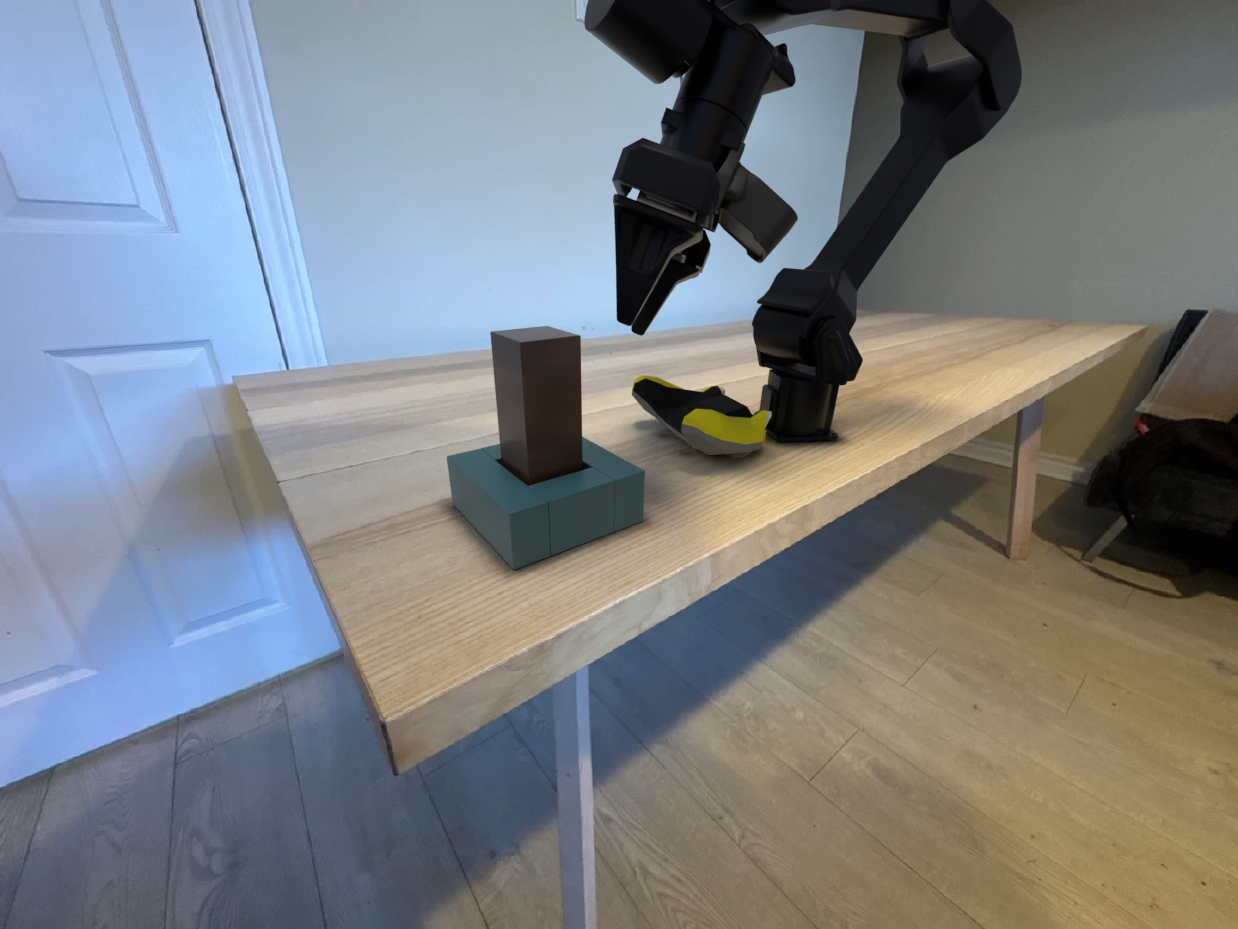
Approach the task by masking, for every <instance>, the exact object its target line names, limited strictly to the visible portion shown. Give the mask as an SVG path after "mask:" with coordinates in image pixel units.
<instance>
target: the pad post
mask: <svg viewBox="0 0 1238 929" xmlns="http://www.w3.org/2000/svg"><path fill="white" fill-rule="evenodd" d="M489 335H490V344H491V346H490V347H491V355H492V357H491V358H492V368H493V380H494V391H495V401H496V402H495V403H496V414H497V424H498V425H497V426H498V436H499V437H498V438H499V444H500V450H501V462H502V466H503V467H504V468H506V469H507V470H508V471H509V472H511V473H512V474H513V475H515V476H516V477H517V478H518V479H520V480H521V481H522V482H523V483H525V484H526V485H527V486H529V485H533V484H536V483H540V482H543V481H547V480H550V479H554V478H557V477H561V476H564V475H568V474H571V473H575V472H578V471H581V470H583V459H582V437H583V406H582V405H583V402H582V401H583V400H582V399H583V398H582V395H583V394H582V337H581V336H582V335H579V334H577V333H573V332H570V331H567V330H566V331H565V330H563V329H559V328H555V327H552V326H549V325H543V326H541V325H540V326H532V327H522V328H513V329H512V328H511V329H502V330H492V331H490V334H489Z"/></svg>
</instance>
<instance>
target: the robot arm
mask: <svg viewBox="0 0 1238 929" xmlns="http://www.w3.org/2000/svg"><path fill="white" fill-rule="evenodd" d="M583 24H584V25H583V26H584V29H585V30H586V31H587V32H589V33H590V34H591V35H592V36H593V37H595V39H597V40H599V41H600V42H601V43H602V44H604V46H606V47H607V48H609V49H610V50H611V51H612V52H614V53H615V54H616V55H617V56H618V57H620V58H621V59H623V61H625V62H626V63H627V64H628V65H630V66H631V67H632V68H634V69H635V70H636V71H637V72H639V73H640V74H641V75H642V76H644V78H646V79H648V80H649V81H650V82H651V83H652V84H654V85H661V84H663V83H665V82H666V81H667V80H669V79H670V78H674V79H679V78H681V77H683V78H682V81H681V84H680V87H679V90H678V92H677V94H676V98H675V100H674V104H673V106H672V108H669V107H665V110H664V112H663V116H662V118H661V121H660V129H661V139H660V142H656V141H654V140H650V139H649V138H645V137H641V138H638V140H635V141H634V142H632V143H630V144H628V145H626V146H624V147H623V148H622V150H621V153H620V156H619V159H618V161H617V164H616V167H615V170H614V173H613V175H612V179H611V182H612V185H613V187H614V189H615V191H616V193H614V194H613V196H612V204H613V217H614V218H613V219H614V249H615V250H614V251H615V252H614V253H615V295H616V296H615V297H616V299H615V300H616V306H615V307H616V308H615V309H616V321H617V322H618V323H620V324H622V325H624V326H627V327H631V328H630V329H631V330H630V331H631V332H632V333H633V334H635V335H638V336H640V337H642V336H644V335H645V334H646V332H647V331H648V329H649V327H650V326H651V325H652V323H653V321H654V320H655V318H656V317H657V315H658V314H659V312H660V310H662V308H663V306H664V305H665V303H666V302H667V300H668V298H669V297H670V296H671V294H672V293H673V291H674V290H675V288H676V287H677V286H678V285H679V284H682V283H684V282H687V281H689V280H691V279H696V278H697V277H699V276H700V274H702V273H703V271H704V269H705V266H706V264H707V261H708V258H709V255H710V253H711V246H712V244H711V241H710V239H709V236H708V234H707V231H708V232H712V233H716V230H717V228H718V225H719V226H720V227H721V228H722V229H723V231H725V232H726V233H727V234H728V235H729V236H730V237H731V238H732V239H733V240H734V241H736V242H737V243H738V244H739V245H740V246H741V247H742V248H743V249H744V250H745V251H746V255H747V256H748V257H749V258H750V259H752V261H754V262H755V263H758V264H763V262H764V261H765V260H766V259H767V257H769V255H770V254H771V253H772V252H773V251H774V250H775V249H776V248H777V246H778V245H779V244H780V243H781V242H782V241H783V239H784V238H785V237H786V236H787V235H788V234H789V233H790V232H791V230H792V229H793V228H794V226H795V224H796V223H797V222H798V220H799V217H798V214H797V212H796V210H795V209H794V208H793V207H792V206H791V205H790V204H789V203H787V201H785V199H784V198H782V197H781V196H780V195H779V194H778V193H777V192H776V191H774V189H772V188H771V187H770V186H769V185H768V184H766V182H765V181H764V180H763V179H762V178H761V177H759V176H758V175H757V174H755V173H753V172H751V170H749V169H747V168H746V167H745V166H744V165H743V164H742V162H741V159H742V157H743V154H744V152H745V148H746V143H745V140H746V138H747V135H748V133H749V130H750V128H751V125H752V122H753V121H754V118H755V115H756V113H757V110H758V107H759V105H760V102H761V100H762V98H763V96H766V95H769V94H772V93H776V92H779V91H783V90H786V89H790V88H793V87H794V86H795V84H796V82H797V79H796V73H795V69H794V65H793V64H792V62H791V61H790V58H789V54H788V45H787V43H784V42H782V43H780V44H778V45H774V44H772V42H770V41H769V40H768V39H767V37H766V36H767V35H772V34H773V35H774V34H777V33H780V32H783V31H787V30H792V29H795V28H800V27H804V26H810V25H814V26H815V25H816V26H823V27H831V28H840V29H847V30H856V31H863V32H871V33H879V34H887V35H896V36H897V37H898V41H899V43H900V46H901V54H900V56H901V57H900V60H899V65H898V72H897V76H896V85H897V88H898V91H899V94H900V96H901V99H902V102H903V103H902V105H901V107H900V110H898V111H899V112H898V138H897V139H896V141H895V143H894V144H893V146H892V147H891V149H890V150H889V151H888V152H887V154H886V156H885V157H884V159H883V160H882V161H881V163H880V164H879V166H878V167H877V168H876V170H875V171H874V173H873V175H871V177H870V179H869V180H868V182H867V183H866V184H865V186H864V187H863V189H862V190H861V192H860V193H859V194H858V196H857V197H856V199H855V201H854V202H853V203H852V205H851V207H850V208H849V209H848V211H847V212H846V213H845V215H844V216H843V218H842V219H841V221H840V222H839V224H838V225H837V227H836V228H835V229H834V231H833V232H832V234H831V235H830V237H829V238H828V240H827V241H826V243H825V244H824V245H823V247H822V248H821V250H820V251H819V253H818V254H817V255H816V257H815V259H814V260H813V261H812V262H811V263H810V264H809V265H808V266H806V267H804V268H803V269H802V268H793V267H783V268H781V270H780V271H779V272H778V273H777V274H776V275H775V277H774V278H773V281H772V283H771V285H770V286H769V288H768V290H766V292H765V293H764V295H762V296H761V297H760V298H758V299H757V301H756V303H757V305H759V307H758V308H757V310H756V311H755V314H754V316H753V318H752V322H751V327H753V328H752V338H753V342H754V345H755V350H756V356H757V361H758V366H759V367H761V368H767V369H769V371H768V377H767V383H766V384H765V383H764V384H763V385H762V388H761V395H760V402H759V404H760V405H759V408H758V409H759V410H758V411H760V410H766V411H771V413H772V416H771V418H770V420H769V422H768V423H767V425H766V427H765V430H766V433H768V434H769V435H770V436H771V437H772V438H773V439H774V440H776V441H777V442H782V443H783V442H810V441H811V442H812V441H814V442H815V441H837V440H838V439H839V434H838V433H837V432H836V431H834V430H833V429H832V425H833V420H834V416H835V410H836V406H837V400H838V396H839V395H838V394H839V391H840V386H846V385H847V383H848V382H854V381H855V380H856V378H857V376H858V374H859V371H860V368H861V367H862V365H863V362H864V359H863V356H862V355H861V353H860V351H859V349H858V347H857V345H856V343H855V342H854V340H853V337H852V336H851V334H850V333H851V331H852V329H853V327H854V325H855V323H856V322H857V311H858V309H857V308H858V307H857V306H858V291H859V289H860V288H861V286H862V285H863V283H864V281H865V280H866V279H867V278H868V276H869V275H870V273H871V272H872V270H873V269H874V268H875V266H876V265H877V263H878V262H879V260H880V259H881V257H882V256H883V254H884V253H885V251H886V250H887V249H888V247H889V246H890V244H891V243H892V241H893V240H894V239H895V237H896V236H897V234H898V233H899V231H900V230H901V229H902V227H903V225H904V224H905V223H906V221H907V220H908V219H909V217H910V215H911V214H912V213H913V211H914V210H915V208H916V207H917V206H918V204H919V203H920V201H921V200H922V198H923V197H924V195H925V194H926V192H927V191H928V190H929V189H930V187H931V185H932V184H933V182H934V181H935V180H936V178H937V177H938V176H939V174H940V172H941V171H942V170H943V168H944V167H945V165H947V163H948V162H949V161H951V160H952V159H954V158H956V157H957V156H959V155H960V154H962V153H964V152H965V151H967V150H969V149H970V148H972V147H973V146H974V145H977V144H978V143H979V142H981V141H982V140H983V139H985V138H986V137H987V135H988V134H989V133H990V132H991V131H992V130H993V128H994V127H995V126H997V124H998V123H999V122H1000V121H1001V120H1002V119H1003V117H1004V116H1005V115H1006V114H1007V112H1008V111H1009V110H1010V108H1011V106H1012V104H1013V103H1014V101H1015V100H1016V98H1017V96H1018V94H1019V91H1020V88H1021V85H1022V79H1023V68H1022V62H1021V58H1020V54H1019V49H1018V43H1017V38H1016V34H1015V29H1014V26H1013V24H1012V22H1010V20H1008V18H1007V17H1005V16H1004V15H1003V14H1002V13H1001V12H1000V11H999V10H998V9H997V8H996V7H995V6H993V4H992V3H990V1H989V0H587V3H586V7H585V12H584V23H583ZM947 30H949V32H950V35H951V37H952V38H953V39H954V40H955V42H957V43H958V44H959V45H961V46H962V47H963V49H964V50H966V51H967V52H968V53H969V54H967V55H964V56H960V57H956V58H952V59H948V60H943V61H940V62H936V63H933V64H930V65H929V63H928V59H927V56H926V54H925V50H926V44H927V40H928V36H931V35H933V34H936V33H940V32H943V31H947ZM633 189H634V190H637V191H638V194H637V196H636V199H633V198H631V197H628V195H629V194H630V193H631V192H632V190H633Z"/></svg>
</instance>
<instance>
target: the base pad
mask: <svg viewBox="0 0 1238 929" xmlns="http://www.w3.org/2000/svg"><path fill="white" fill-rule="evenodd" d="M582 459H583V470H581V471H578V472H575V473H571V474H568V475H564V476H561V477H557V478H554V479H550V480H547V481H543V482H540V483H536V484H533V485H529V486H527V485H526V484H525V483H523V482H522V481H521V480H520V479H518V478H517V477H516V476H515V475H513V474H512V473H511V472H509V471H508V470H507V469H506V468H504V467H503V466H502V462H501V450H500V443H497V444H493V445H489V446H484V447H480V448H477V449H472V450H467V451H463V452H460V453H454V454H451V455H447V456H446V462H447V464H446V465H447V470H448V478H449V479H448V480H449V484H450V485H449V486H450V492H451V501H452V505H453V506H454V508H456V509H457V511H458V512H460V513H461V515H462V516H463V517H464V518H465V519H466V520H467V521H468V522H469V523H470V525H472V526H473V528H474V529H475V530H476V531H477V532H478V533H479V534H480V535H481V536H482V537H483V539H485V541H486V542H487V543H488V544H489V545H490V546H491V547H492V548H493V549H494V550H495V552H497V554H498V555H499V556H500V557H502V559H503V560H504V561H505V562H506V563H507V564H508V565H509V567H511V569H512V570H514V571H515V570H518V569H521V568H523V567H526V566H529V565H530V564H533V563H537V562H539V561H542V560H544V559H546V558H549V557H553V556H556V555H557V554H560V553H564V552H565V551H568V550H570V549H574V548H575V547H578V546H581V545H584V544H585V543H586V544H587V543H590V542H591V541H594V540H596V539H599V538H602V537H604V536H607V535H610V534H612V533H615V532H618V531H620V530H623V529H626V528H628V527H631V526H634V525H636V524H639V523H642V522H644V508H645V506H644V504H645V481H646V470H645V469H642V468H641V467H639V466H637V465H635V464H633V463H632V462H630V461H628V460H626V459H625V458H623V457H621V456H619V455H617V454H615V453H614V452H611V451H609V450H608V449H607V448H604V447H602V446H600V445H598V444H597V443H595V442H593V441H591V440H589V439H588V438H585V437H584V436H582Z"/></svg>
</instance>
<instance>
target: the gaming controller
mask: <svg viewBox="0 0 1238 929" xmlns="http://www.w3.org/2000/svg"><path fill="white" fill-rule="evenodd" d="M631 388H632V389H631V396H632V397H633V399H634V400H635V401H636V402H637V403H638V404H639V406H640V407H641V408H642V409H643V410H644V411H645V412H646V413H648V414H649V415H650V416H652V417H653V418H655V419H656V420H657V421H658V422H659V423H660V424H661V425H662V426H664V427H665V428H667V429H668V430H669V431H671V432H672V433H673V436H674V437H675V438H678V439H681V440H683V441H684V443H686V444H687V445H689V446H691V448H693V449H694V450H698V451H700V452H701V453H703V454H705V455H709V456H717V455H724V456H727V457H729V458H733V459H744V458H747V457H748V456H750V454H751V453H752V452H755V451H758V450H761V449H762V447H763V446H764V445H765V444H766V436H767V431H766V430H765V427H766V425H767V423H768V422H769V420H770V418H771V416H772V413H771V411H766V410H760V411H759V410H757V411H755V412H754V413H752V412H751V410H750V409H749V407H748V405H745V404H743V403H742V402H740V401H738V400H735V399H734V398H731V397H730V396H728V395H726V389H725V388H724V387H723V386H719V385H712V386H706V387H704V388H702V389H700V390H691V389H686V388H683V387H680V386H679V385H676V384H674V383H671V382H669V381H667V380H665V379H662V378H660V377H658V376H656V375H642V374H641V375H639V376H637V377H636V378H635V379H634V380H633V384H632V387H631Z"/></svg>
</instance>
